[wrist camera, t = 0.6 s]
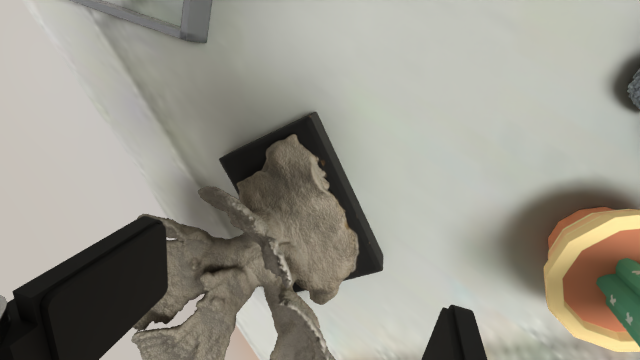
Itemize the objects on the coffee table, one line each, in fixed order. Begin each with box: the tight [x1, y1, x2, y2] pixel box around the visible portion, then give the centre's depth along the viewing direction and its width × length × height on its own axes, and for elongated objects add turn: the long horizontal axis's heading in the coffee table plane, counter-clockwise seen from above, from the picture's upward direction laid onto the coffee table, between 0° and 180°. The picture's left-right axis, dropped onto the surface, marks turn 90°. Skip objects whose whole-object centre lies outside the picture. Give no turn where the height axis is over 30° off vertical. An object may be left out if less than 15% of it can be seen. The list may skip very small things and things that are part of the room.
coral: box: [132, 112, 383, 360], centre depth 34 cm, size 25×20×22 cm
